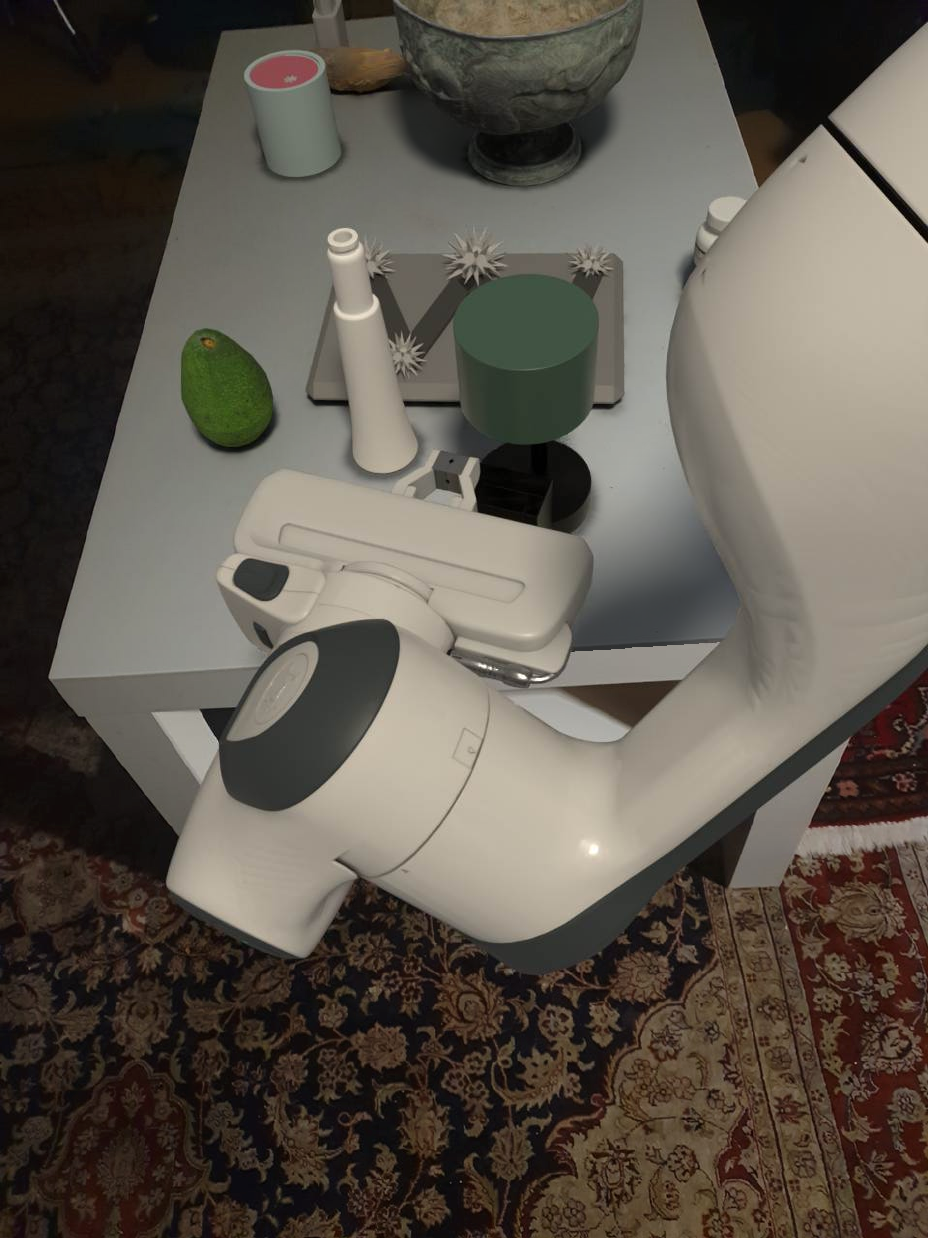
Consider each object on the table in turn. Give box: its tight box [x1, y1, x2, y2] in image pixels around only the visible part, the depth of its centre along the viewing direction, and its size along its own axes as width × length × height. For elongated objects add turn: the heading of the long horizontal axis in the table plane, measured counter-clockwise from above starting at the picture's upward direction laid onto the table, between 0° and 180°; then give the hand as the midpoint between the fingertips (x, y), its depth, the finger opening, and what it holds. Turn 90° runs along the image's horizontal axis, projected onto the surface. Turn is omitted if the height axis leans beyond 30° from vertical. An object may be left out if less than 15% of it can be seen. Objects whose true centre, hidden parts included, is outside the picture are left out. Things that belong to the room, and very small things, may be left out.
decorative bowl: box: [392, 0, 645, 187], centre depth 101 cm, size 26×26×20 cm
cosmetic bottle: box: [326, 227, 419, 474], centre depth 75 cm, size 6×6×22 cm
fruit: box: [180, 327, 274, 448], centre depth 82 cm, size 8×8×12 cm
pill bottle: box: [689, 195, 748, 276], centre depth 89 cm, size 5×5×10 cm
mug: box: [243, 49, 342, 178], centre depth 110 cm, size 14×9×10 cm
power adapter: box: [311, 0, 350, 48], centre depth 119 cm, size 3×5×12 cm, turn 174°
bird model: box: [308, 45, 410, 94], centre depth 118 cm, size 6×21×5 cm, turn 88°
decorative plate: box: [305, 223, 625, 405], centre depth 89 cm, size 30×22×7 cm
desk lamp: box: [453, 274, 599, 534], centre depth 71 cm, size 13×10×20 cm
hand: (457, 460), depth 56 cm, fingers closed
